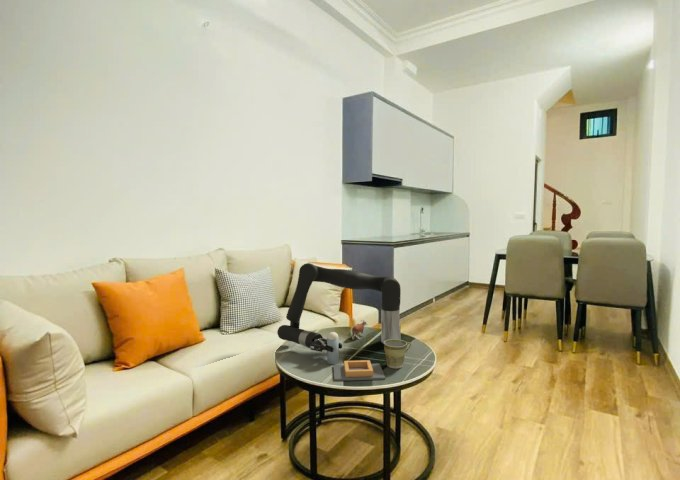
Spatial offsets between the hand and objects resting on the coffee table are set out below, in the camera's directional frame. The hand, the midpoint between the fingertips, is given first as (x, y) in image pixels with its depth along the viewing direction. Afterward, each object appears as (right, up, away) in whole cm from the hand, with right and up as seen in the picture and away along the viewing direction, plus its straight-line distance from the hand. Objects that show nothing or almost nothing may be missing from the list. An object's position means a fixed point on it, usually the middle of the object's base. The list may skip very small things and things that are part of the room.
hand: (337, 347), depth 162 cm
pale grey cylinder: (-2, -7, +2) cm, 7 cm away
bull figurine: (+11, -5, +37) cm, 39 cm away
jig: (+9, -8, -9) cm, 15 cm away
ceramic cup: (+26, -7, -2) cm, 27 cm away
